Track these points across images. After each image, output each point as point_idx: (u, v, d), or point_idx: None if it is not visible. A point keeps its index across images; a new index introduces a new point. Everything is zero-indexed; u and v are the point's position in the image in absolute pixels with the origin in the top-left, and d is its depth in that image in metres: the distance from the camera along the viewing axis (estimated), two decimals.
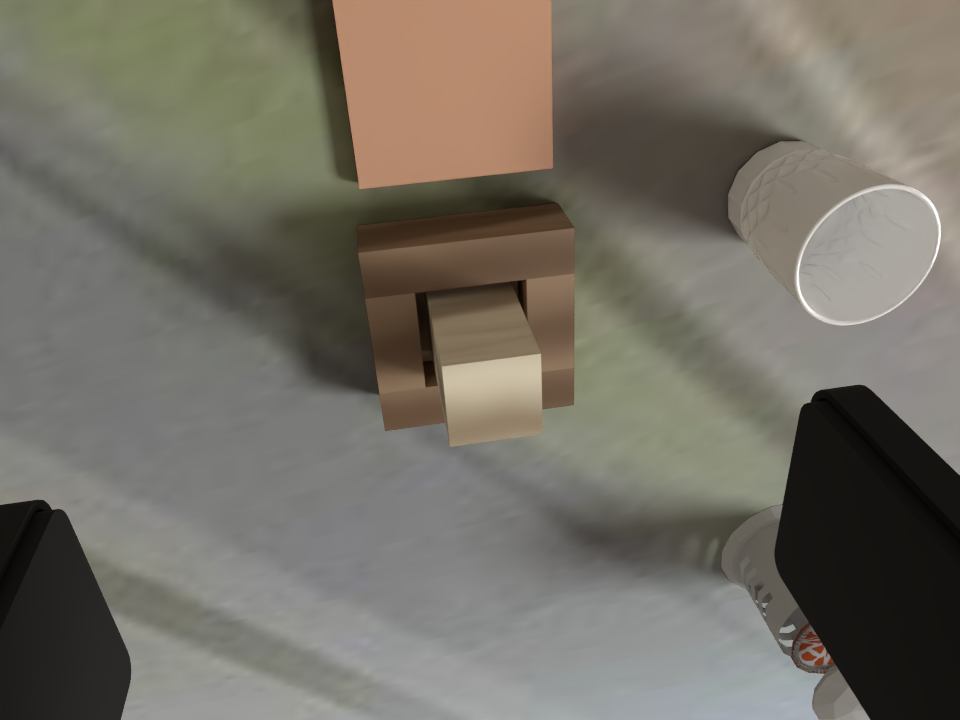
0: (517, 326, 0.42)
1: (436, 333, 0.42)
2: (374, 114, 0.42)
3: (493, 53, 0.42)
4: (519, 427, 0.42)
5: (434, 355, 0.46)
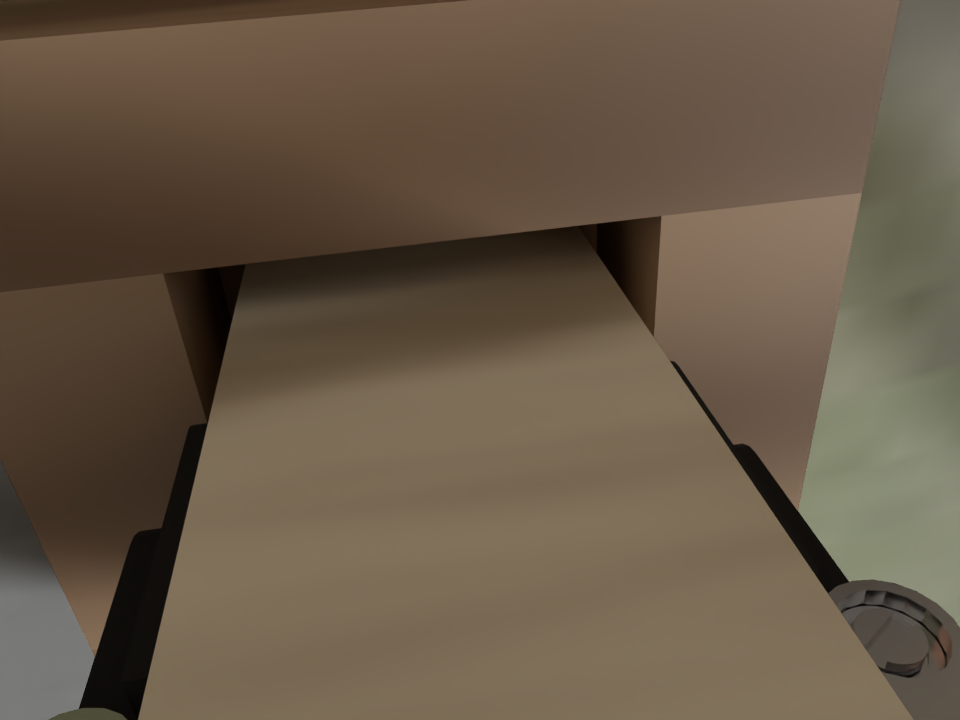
0: (668, 460, 0.07)
1: (196, 505, 0.07)
2: None
3: None
4: None
5: None
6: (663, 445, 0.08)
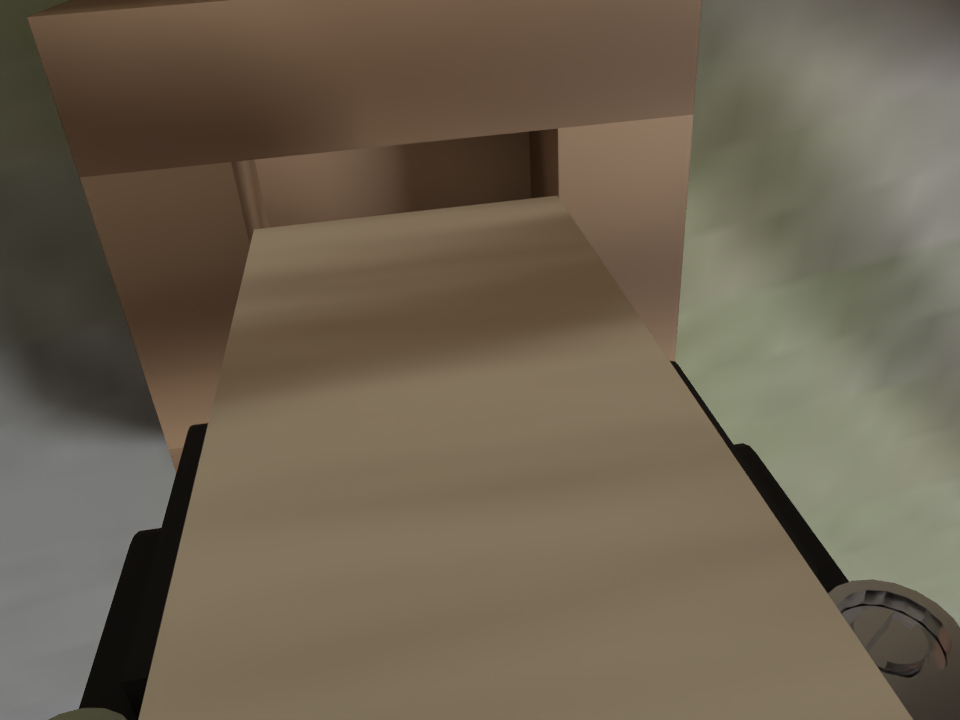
0: (667, 459, 0.07)
1: (197, 504, 0.07)
2: None
3: None
4: None
5: None
6: (662, 444, 0.08)
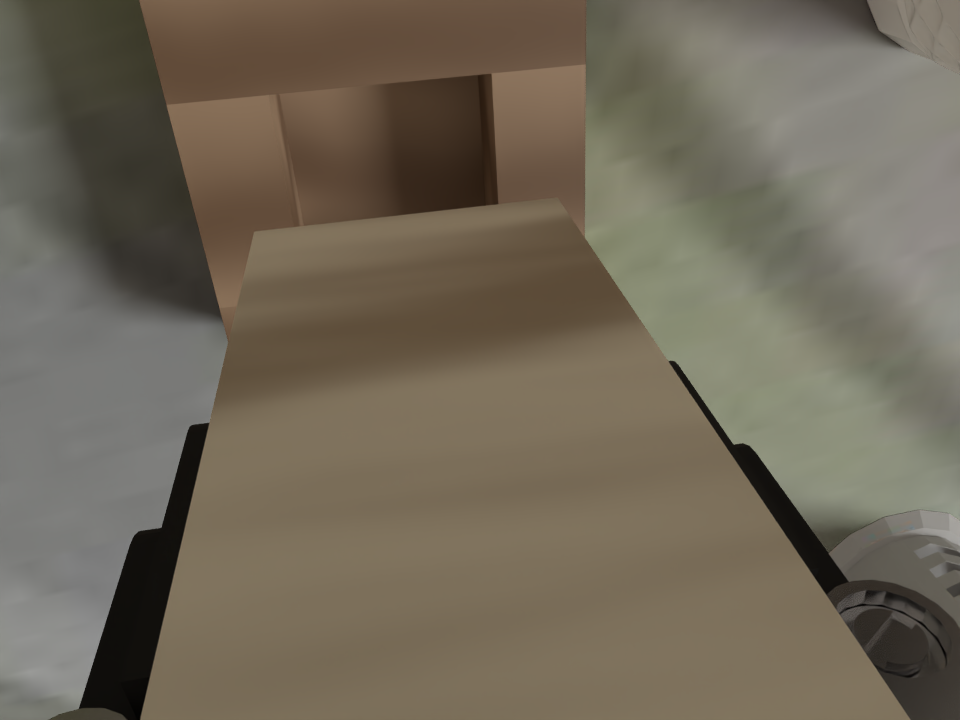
0: (667, 462, 0.07)
1: (197, 508, 0.07)
2: None
3: None
4: None
5: None
6: (663, 448, 0.08)
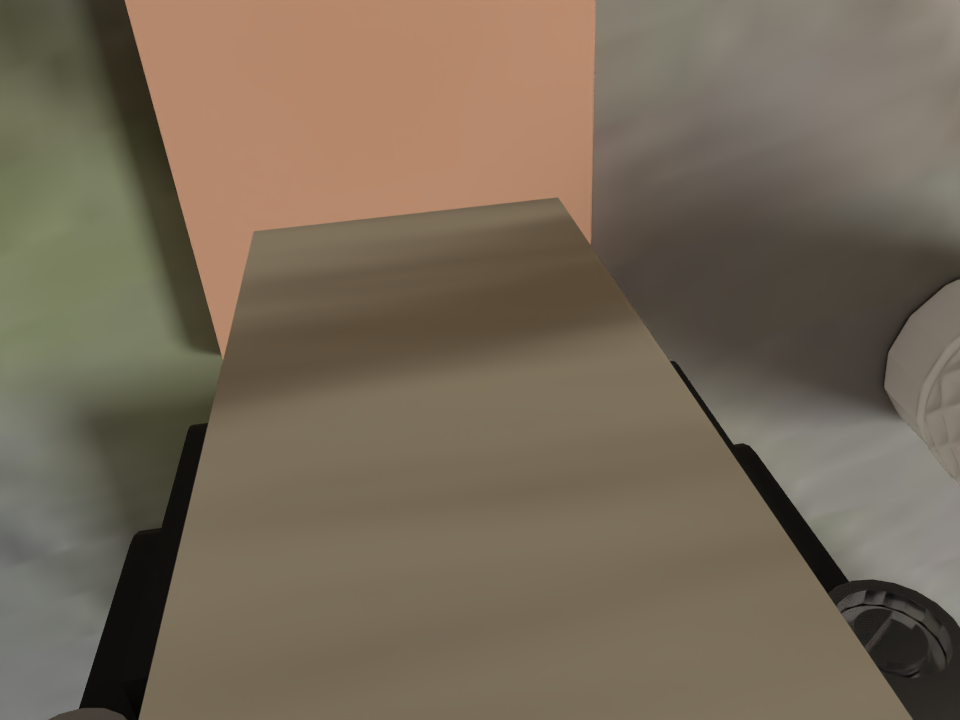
0: (670, 464, 0.07)
1: (195, 510, 0.07)
2: (243, 245, 0.22)
3: (477, 128, 0.21)
4: None
5: None
6: (665, 449, 0.08)
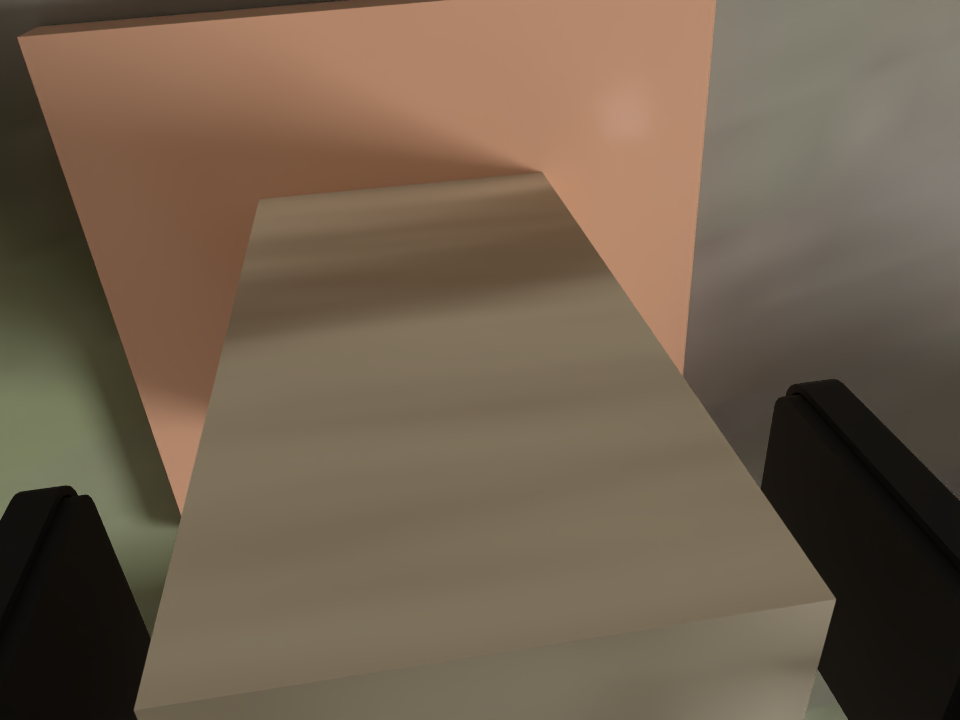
0: (629, 385, 0.08)
1: (212, 420, 0.08)
2: None
3: None
4: None
5: None
6: (626, 375, 0.09)
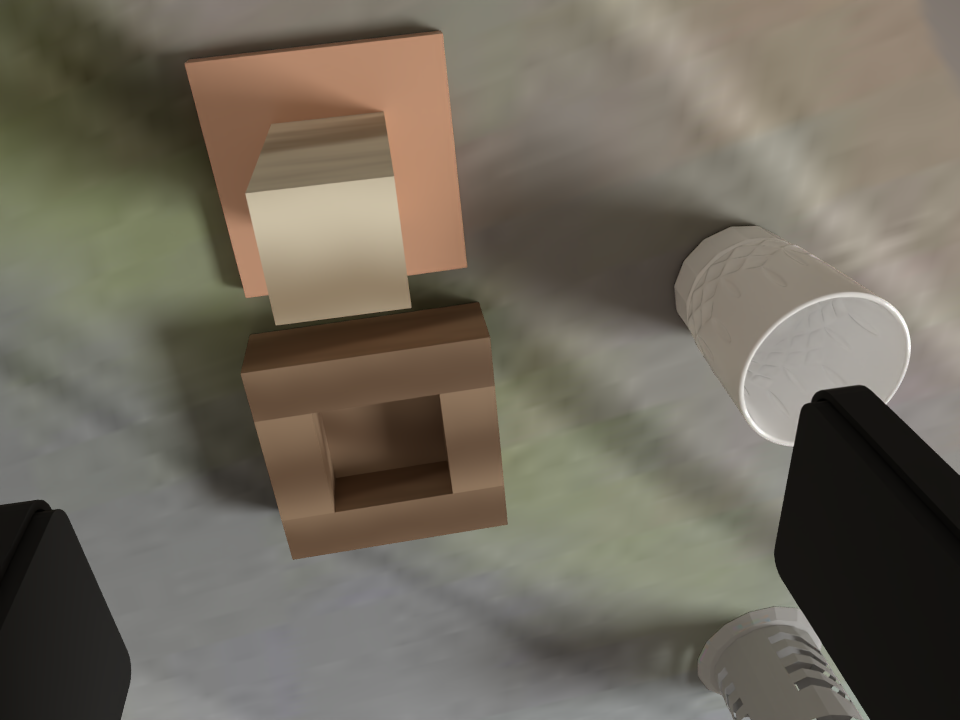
0: (374, 154, 0.30)
1: (257, 165, 0.30)
2: None
3: None
4: (375, 297, 0.29)
5: None
6: (375, 153, 0.30)
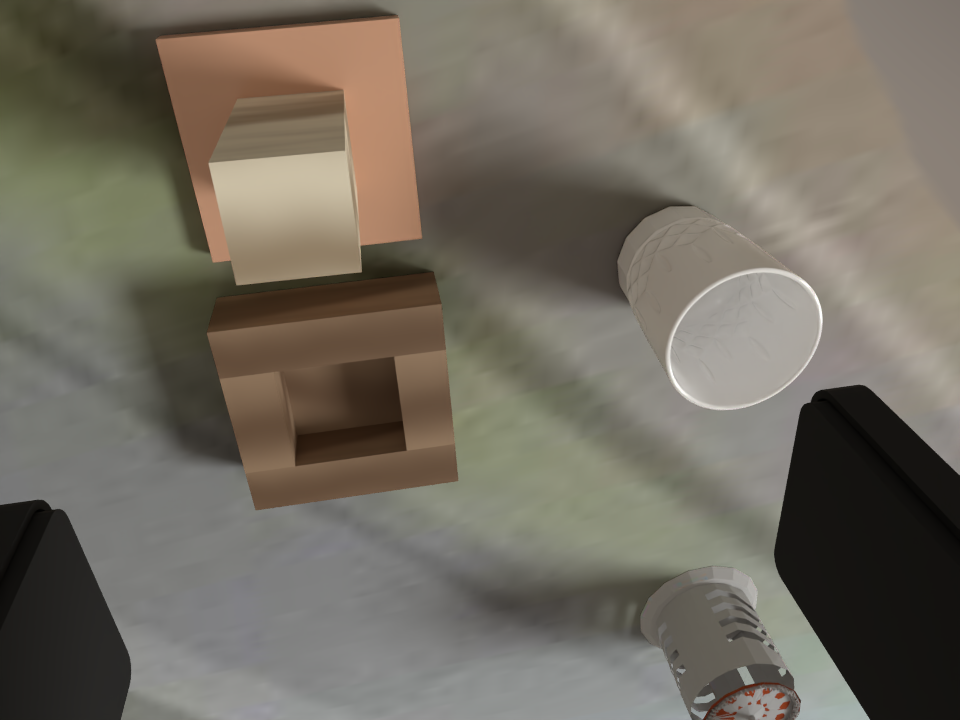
0: (329, 130, 0.32)
1: (221, 137, 0.32)
2: None
3: None
4: (328, 261, 0.32)
5: None
6: (330, 128, 0.33)
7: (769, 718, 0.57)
